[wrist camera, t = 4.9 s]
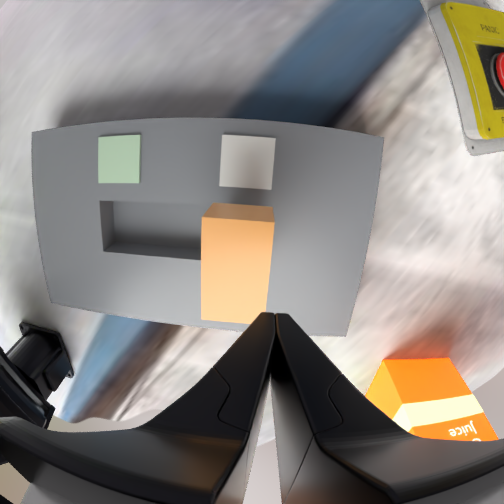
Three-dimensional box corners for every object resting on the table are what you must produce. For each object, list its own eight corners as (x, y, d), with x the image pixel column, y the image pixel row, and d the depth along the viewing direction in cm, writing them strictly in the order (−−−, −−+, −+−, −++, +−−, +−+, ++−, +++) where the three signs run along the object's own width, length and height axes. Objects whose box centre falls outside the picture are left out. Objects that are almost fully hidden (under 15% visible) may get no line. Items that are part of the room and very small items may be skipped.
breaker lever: (220, 261, 21) (201, 319, 14) (223, 189, 19) (201, 217, 12) (264, 265, 21) (264, 324, 14) (270, 192, 19) (274, 222, 12)
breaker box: (68, 287, 24) (50, 303, 21) (54, 130, 19) (30, 132, 16) (337, 314, 23) (346, 338, 21) (367, 137, 18) (385, 137, 16)
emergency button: (496, 163, 15) (434, -30, 10) (463, 156, 19) (411, -10, 14) (555, 152, 13) (508, -10, 8) (524, 146, 18) (483, 1, 13)
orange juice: (382, 358, 25) (452, 547, 7) (449, 356, 25) (530, 501, 7) (356, 410, 28) (392, 572, 9) (420, 405, 28) (471, 540, 9)
